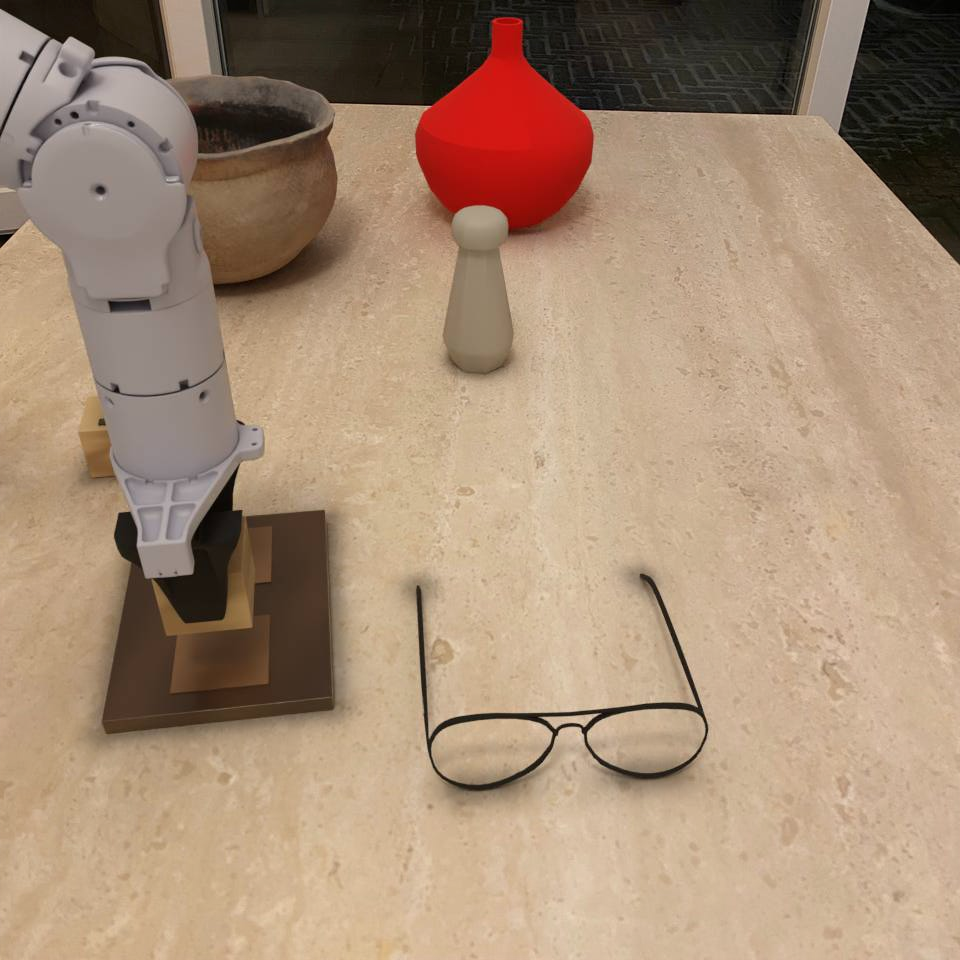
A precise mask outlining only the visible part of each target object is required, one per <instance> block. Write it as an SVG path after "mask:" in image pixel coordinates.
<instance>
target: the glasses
mask: <svg viewBox="0 0 960 960" xmlns="http://www.w3.org/2000/svg"><path fill="white" fill-rule="evenodd" d="M639 577H640V578H641V579H642V580H645V581H646V583H648V585H649V586H650V588H651V590H652V593H653V594H654V597H655V599H656V601H657V604H658V606H659V608H660V612H661V614H662V617H663V619H664V621H665V625H666V627H667V630H668V632H669V635H670V637H671V640H672V642H673V645H674V648H675V650H676V653H677V656H678V659H679V662H680V664H681V667H682V669H683V672H684V674H685V678H686V680H687V683H688V685H689V688H690V690H691V693H692V695H693V698H694V701H695V704H696V705H694V704H691V703H686V702H680V701H679V702H677V701H676V702H673V701H672V702H671V701H670V702H666V701H663V702H661V701H659V702H647V703H640V704H639V703H638V704H632V705H624V706H617V707H616V706H615V707H607V708H597V709H588V710H587V709H585V710H577V711H557V712H484V713H482V712H481V713H473V714H466V715H459V716H454V717H450V718H448V719H446V720H444V721H442V722H441V723H439V724H438V725H437V726H436V727H435V728H434V730H433V731H432V732H431V735H430V733H429V729H430V727H429V708H428V687H427V686H428V685H427V669H426V650H425V649H426V648H425V634H424V633H425V632H424V616H423V599H422V598H423V597H422V589H421V586H420V584H419V585H418V584H417V585H416V587H415V593H416V594H415V597H416V612H417V613H416V614H417V615H416V617H417V634H418V635H417V636H418V653H419V654H418V655H419V671H420V687H421V689H420V690H421V705H422V717H423V723H424V732H425V733H424V734H425V740H426V741H425V742H426V747H427V753H428V757H429V760H430V763H431V766H432V768H433V770H434V772H435V773H436V774H437V776H439V777H440V778H441V779H442V780H444V781H445V782H447V783H448V784H450V785H452V786H454V787H457V788H461V789H466V790H473V791H482V790H483V791H484V790H490V789H493V788H494V789H495V788H498V787H501V786H504V785H507V784H510V783H512V782H514V781H516V780H518V779H521V778H523V777H525V776H526V775H528V774H530V773H531V772H533V771H536V769H537V768H538V767H539V766H541V765H542V764H543V763H544V761H545V760H546V759H547V757H548V756H549V754H550V753H551V752H552V750H553V748H554V746H555V741H556V738H557V737H558V736H559V733H560V730H562V729H566V728H580V729H581V730H580V731H581V733H582V735H583V740H584V746H585V748H586V749H587V751H588V752H589V753H590V754H591V756H592V758H593V759H594V760H595V761H597V762H598V764H599V765H601V766H603V767H605V768H606V769H608V770H610V771H613V772H616V773H619V774H621V775H624V776H628V777H631V778H639V779H658V778H663V777H666V776H669V775H672V774H674V773H677V772H678V771H681V770H683V769H685V768H686V767H687V766H689V765H690V764H692V762H693V761H694V760H695V759H696V758H698V756H699V754H700V753H701V752H702V749H703V747H704V745H705V743H706V742H707V739H708V735H709V723H708V721H707V716H706V714H705V712H704V709H703V705H702V702H701V699H700V696H699V693H698V691H697V688H696V684H695V682H694V679H693V676H692V673H691V671H690V667H689V664H688V662H687V659H686V657H685V654H684V651H683V648H682V646H681V643H680V641H679V638H678V636H677V633H676V630H675V628H674V625H673V622H672V619H671V618H670V615H669V612H668V610H667V607H666V605H665V602H664V600H663V597H662V594H661V592H660V591H659V588H658V586H657V584H656V582H655V581H654V579H653V578H652V577H651V576H650V575H647V574H645V573H640V574H639ZM646 710H647V711H648V710H649V711H650V710H681V711H688V712H693V713H695V714H697V715H698V716H700V717H701V719H702V722H703V724H704V728H705V729H704V736H703V739H702V741H701V743H700V746H699V747H698V749H697V750H696V752H695V753H693V755H692V756H691V757H690V758H688V759H687V760H686V761H684V762H683V763H681V764H679V765H677V766H675V767H673V768H669V769H666V770H663V771H657V772H638V771H632V770H628V769H624V768H621V767H619V766H616V765H613V764H611V763H609V762H608V761H606V760H605V759H603V758H601V757H600V756H599V755H598V754H597V753H596V752H595V751H594V750H593V748H592V747H591V745H590V743H589V740H588V732H589V731H590V730H591V729H592V728H593V727H594V726H595V725H596V724H597V723H599V722H601V721H603V720H605V719H607V718H610V717H612V716H616V715H621V714H624V713H630V712H631V713H632V712H638V711H639V712H640V711H646ZM589 715H596V716H594V717H592V719H590V720H589V721H588V722H587V724H586V725H583V724H581V723H577V722H566V723H562V724H560V725H558V726H557V727H556V728H555V727H554V726H553V725H552V724H551V723H550V721H548V720H546V719H544V718H560V717H562V718H563V717H578V716H579V717H580V716H589ZM488 720H489V721H491V720H521V721H530V722H533V723H537V724H540V725H543V726H544V727H546V728H547V729H548V730H549V731H550V732H551V733H552V735H551V739H550V743H549V744H548V746H547V747H546V749H545V750H544V751H543V753H542V754H541V755H540V756H539V757H537V759H536V760H535V761H534V762H532V763H531V764H530V765H528V766H527V767H526V768H524V769H522V770H520V771H518V772H516V773H514V774H512V775H510V776H508V777H505V778H503V779H500V780H497V781H492V782H489V783H482V784H468V783H463V782H459V781H456V780H452V779H450V778H448V777H447V776H446V775H443V774H442V773H441V772H440V771H439V770H438V768H437V766H436V765H435V762H434V759H433V754H432V746H433V742H434V740H435V738H436V737H437V736H438V735H439V734H440V733H441V732H442V731H443V730H445V729H447V728H449V727H452V726H456V725H459V724H464V723H472V722H477V721H488Z"/></svg>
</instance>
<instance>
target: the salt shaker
mask: <svg viewBox="0 0 960 960" xmlns="http://www.w3.org/2000/svg"><path fill="white" fill-rule="evenodd" d="M453 215H454V214H453ZM450 228H451V230H450V231H451V237H452V240H453V241H454V243H455V244H456V245H457V246H458V251H457V256H456V259H455V260H456V261H455V266H454V271H453V275H452V277H453V278H452V281H451V282H452V283H451V288H450V293H449V299H448V303H447V308H446V309H447V310H446V315H445V318H444V325H443V331H442V341H443V344H444V346H445V348H446V350H447V352H448V355H449V357H450V358H451V360H452V362H453V363H454V364H455V365H456V366H457V367H458V368H459V369H460V370H462V372H464V373H472V374H473V373H475V374H483V375H484V374H488V373H491V372H492V371H494V370H497V369H499V368H501V367H502V366H503V364H504V363H505V360H506V358H507V356H508V355H509V352H510V350H511V348H512V345H513V342H514V341H513V340H514V337H515V331H514V326H513V320H512V319H513V318H512V315H511V309H510V302H509V297H508V292H507V291H508V290H507V286H506V280H505V274H504V269H503V263H502V258H501V257H502V256H501V251H500V247H502V246H504V245H505V244H506V242H507V238H508V234H509V230H508V220H507V217H506V216H505V215H504V214H503V213H502V212H501V211H500V210H499V209H496V208H494V207H490V206H484V205H481V206H470V207H465V208H463V209H461V210H460V211H458V212H457V213H456V214H455V215H454V216H453V218H452V221H451V226H450Z"/></svg>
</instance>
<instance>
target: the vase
mask: <svg viewBox="0 0 960 960" xmlns="http://www.w3.org/2000/svg"><path fill="white" fill-rule="evenodd" d="M491 23H492V24H491V49H490V54H489V55H488V57H487V58H486V59H485V61H484V62H483V64H482V65H481V66H480V67H478V68H477V69H476V70H475V71H474V72H473V73H471V74H470V75H469V76H467V78H465V79H464V80H463V81H462V82H461V83H460V84H458V85H457V86H456V87H455V88H453V89H452V90H451V91H449V92H448V93H447V94H445V95H444V96H442V97H441V98H440V99H439V100H437V101H436V102H435V103H434V104H432V105H431V106H430V107H428V108H426V110H425V111H423V112H422V113H421V116H420V118H419V120H418V123H417V126H416V130H415V132H414V142H415V145H414V146H415V156H416V159H417V162H418V165H419V167H420V169H421V170H420V171H421V172H422V174H423V176H424V179H425V181H426V183H427V185H428V188H429V190H430V192H431V193H432V194H433V195H434V196H435V197H436V199H437V200H438V201H439V202H440V203H441V205H442V206H443V207H444V208H445V209H446V210H447V211H448V212H450V213H451V214H452V215H455V214H456V213H457V212H458V211H460V210H461V209H463V208H465V207H470V206H481V205H484V206H490V207H494V208H496V209H499V210H500V211H501V212H502V213H503V214H504V215H505V216H506V217H507V220H508V231H513V230H516V231H517V230H522V229H528V228H532V227H534V226H537V225H540V224H542V223H543V222H545V221H547V220H548V219H550V218H551V217H553V216H554V215H556V214H558V213H559V212H560V211H561V210H562V209H563V208H564V207H565V205H566V204H568V203H569V201H570V200H571V199H572V198H573V197H574V196H575V194H576V193H577V192H578V191H579V189H580V187H581V185H582V183H583V180H584V179H585V177H586V175H587V172H588V171H589V169H590V167H591V164H592V161H593V151H594V142H595V141H594V140H595V133H594V130H593V126H592V123H591V119H590V118H589V117H588V116H587V115H586V113H585V112H584V111H583V110H582V109H580V108H579V107H578V106H576V105H575V104H574V103H573V102H572V101H571V100H569V99H568V98H567V97H566V96H564V95H563V94H562V93H561V92H559V90H557V89H556V87H554V86H553V85H552V84H551V83H549V81H548V80H546V79H545V78H544V77H543V76H542V75H541V74H540V73H538V72H537V71H536V70H535V69H534V68H533V67H532V66H531V64H530V63H529V62H528V60H527V59H526V57H525V56H524V50H523V35H524V21H523V19H521V18H517V17H507V16H506V17H497V18H494V19H492V20H491Z"/></svg>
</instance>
